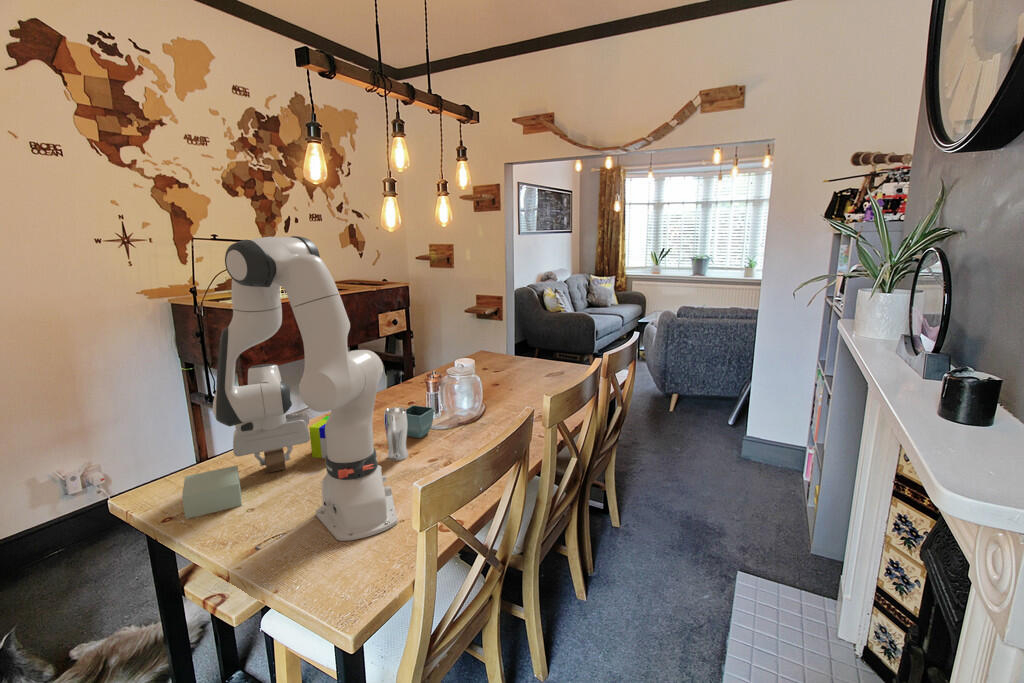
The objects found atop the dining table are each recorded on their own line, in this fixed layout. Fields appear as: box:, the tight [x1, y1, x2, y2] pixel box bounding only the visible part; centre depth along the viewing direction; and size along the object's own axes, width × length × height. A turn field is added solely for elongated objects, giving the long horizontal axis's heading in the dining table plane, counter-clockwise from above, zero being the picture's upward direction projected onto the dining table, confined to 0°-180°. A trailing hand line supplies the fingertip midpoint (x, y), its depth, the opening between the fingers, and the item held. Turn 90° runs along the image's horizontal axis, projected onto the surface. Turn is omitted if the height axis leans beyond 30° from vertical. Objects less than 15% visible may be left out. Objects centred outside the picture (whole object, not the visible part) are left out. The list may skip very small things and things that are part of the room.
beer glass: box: [383, 406, 409, 462], centre depth 150 cm, size 7×7×15 cm
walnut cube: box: [263, 447, 287, 474], centre depth 143 cm, size 5×5×5 cm
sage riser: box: [181, 464, 243, 520], centre depth 126 cm, size 12×12×6 cm
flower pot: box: [405, 404, 435, 439], centre depth 167 cm, size 9×9×9 cm
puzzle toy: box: [308, 415, 330, 459], centre depth 154 cm, size 10×10×10 cm
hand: (275, 462), depth 144 cm, fingers closed on walnut cube, 5 cm apart
